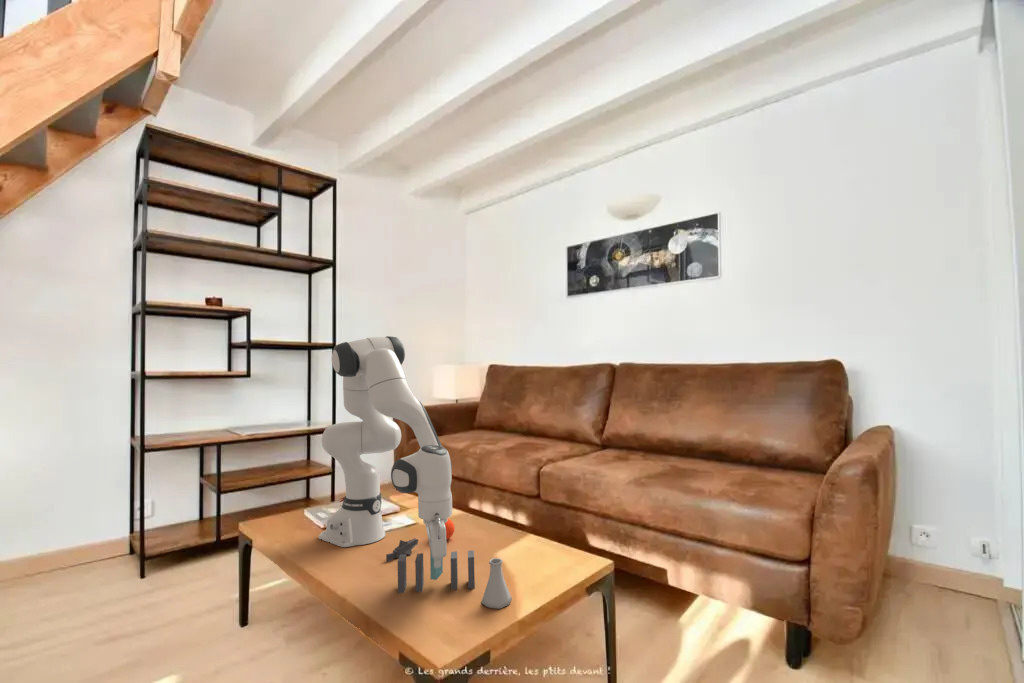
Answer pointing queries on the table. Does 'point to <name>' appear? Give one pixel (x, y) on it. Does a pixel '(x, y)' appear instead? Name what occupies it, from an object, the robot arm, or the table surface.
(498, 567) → the flask
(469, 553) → the domino
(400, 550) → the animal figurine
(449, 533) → the clementine
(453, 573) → the domino
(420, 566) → the domino
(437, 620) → the table surface
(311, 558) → the table surface
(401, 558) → the domino
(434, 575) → the domino
